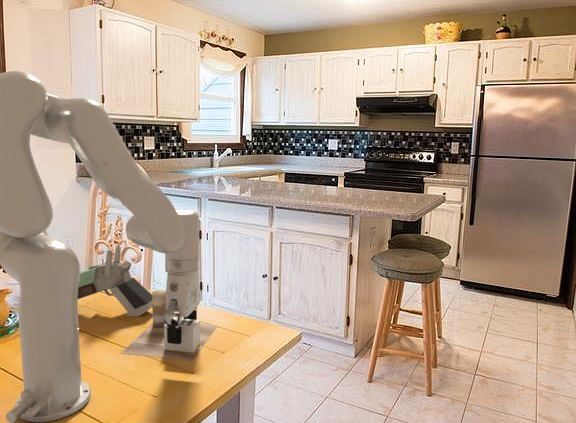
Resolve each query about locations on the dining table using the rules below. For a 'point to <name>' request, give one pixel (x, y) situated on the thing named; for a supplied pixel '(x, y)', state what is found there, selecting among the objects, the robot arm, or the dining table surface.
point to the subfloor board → (154, 344)
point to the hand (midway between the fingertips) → (182, 333)
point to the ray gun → (115, 284)
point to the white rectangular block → (185, 336)
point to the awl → (159, 308)
